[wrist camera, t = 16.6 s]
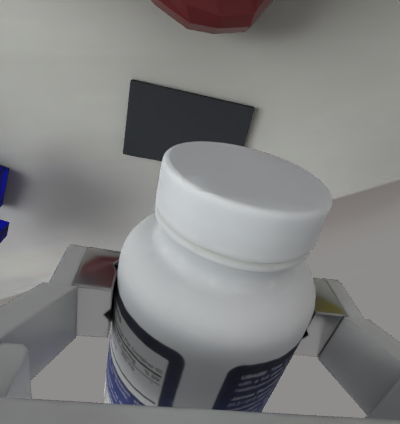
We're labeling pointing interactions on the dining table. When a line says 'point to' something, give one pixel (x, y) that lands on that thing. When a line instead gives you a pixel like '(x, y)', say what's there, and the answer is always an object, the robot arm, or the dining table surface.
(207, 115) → the mat
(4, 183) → the figurine
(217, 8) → the heart
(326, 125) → the dining table surface
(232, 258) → the pill bottle
